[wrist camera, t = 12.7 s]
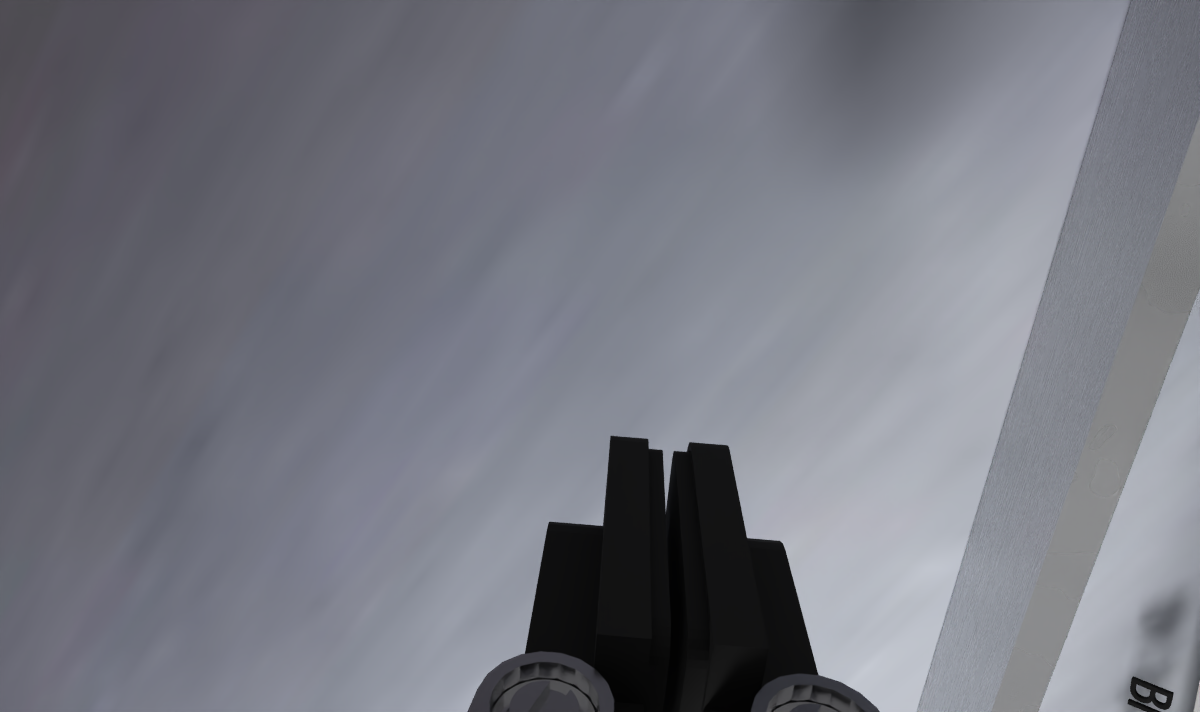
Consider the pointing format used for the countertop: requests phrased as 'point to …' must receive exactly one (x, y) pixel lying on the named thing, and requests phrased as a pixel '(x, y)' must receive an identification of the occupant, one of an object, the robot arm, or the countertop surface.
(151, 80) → the countertop surface
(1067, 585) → the offcut rack
